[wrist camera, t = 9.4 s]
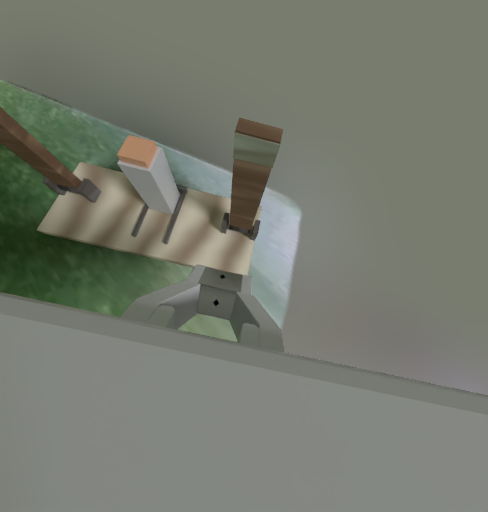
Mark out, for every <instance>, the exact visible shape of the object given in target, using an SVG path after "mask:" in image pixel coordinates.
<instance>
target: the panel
mask: <svg viewBox="0 0 488 512" xmlns="http://www.w3.org/2000/svg"><path fill="white" fill-rule="evenodd" d="M73 174H74V175H75V176H76V177H78V178H79V179H80V180H81V181H82V182H81V184H80V186H79V187H78V189H77V191H78V192H79V193H80V194H77V193H73V192H68V191H64V190H61V189H59V187H58V185H57V184H55V183H53V182H52V181H51V180H49V179H48V178H47V177H45V179H44V180H43V182H42V183H44V184H45V185H47V186H48V187H49V188H51V189H52V190H54V191H55V192H57V193H58V194H59V196H58V197H57V199H56V201H55V202H54V204H53V205H52V207H51V208H50V210H49V211H48V213H47V215H46V216H45V218H44V219H43V221H42V222H41V224H40V225H39V227H38V229H37V230H38V231H40V232H42V233H45V234H48V235H52V236H56V237H61V238H65V239H70V240H74V241H78V242H83V243H87V244H92V245H96V246H101V247H105V248H109V249H114V250H118V251H123V252H127V253H132V254H136V255H140V256H145V257H149V258H154V259H158V260H163V261H167V262H171V263H176V264H180V265H185V266H189V267H193V268H195V266H196V265H197V264H199V265H203V266H206V267H211V268H215V269H220V270H224V271H227V272H232V273H237V274H242V275H247V276H248V271H249V266H250V261H251V256H252V251H253V246H254V241H255V239H256V237H257V234H258V230H259V225H260V221H259V217H260V212H261V207H262V206H259V207H258V210H257V213H256V216H255V219H254V222H253V225H252V228H251V231H250V234H246V233H242V232H238V231H233V230H229V222H230V208H231V199H229V198H225V197H221V196H217V195H213V194H209V193H205V192H201V191H197V190H192V189H188V188H186V187H183V186H179V185H176V186H177V189H178V191H179V194H180V198H179V200H178V203H177V205H176V208H175V211H174V213H173V215H172V214H168V213H164V212H160V211H155V210H151V209H150V208H149V207H148V206H147V204H146V203H145V201H144V200H143V199H142V197H141V196H140V195H139V193H138V192H137V190H136V189H135V188H134V186H133V185H132V184H131V182H130V181H129V179H128V178H127V177H126V175H125V174H124V173H123V172H119V171H115V170H111V169H107V168H103V167H99V166H95V165H90V164H86V163H82V162H80V163H79V165H78V166H77V168H76V169H75V171H74V173H73Z"/></svg>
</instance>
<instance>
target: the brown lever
mask: <svg viewBox="0 0 488 512" xmlns="http://www.w3.org/2000/svg"><path fill="white" fill-rule="evenodd" d="M0 143H2V144H3V145H4V146H6V147H7V148H8V149H10V150H11V151H12V152H14V153H15V154H16V155H18V156H19V157H20V158H22V159H23V160H24V161H26V162H27V163H28V164H30V165H31V166H32V167H34V168H35V169H36V170H37V171H39V172H40V173H41V174H43V175H44V176H45V177H47V178H48V179H49V180H51V181H52V182H53V183H55V184H57V185H58V187H59V189H61V190H64V191H68V192H73V193H77V194H80V193H79V192H78V191H77V189H78V187H79V186H80V184H81V182H82V181H81V180H80V179H79V178H78V177H76V176H75V175H74V174H73V173H72V172H71V171H70V170H69V169H68V168H67V167H65V166H64V165H63V164H62V163H61V162H60V161H59V160H58V159H57V158H56V157H54V156H53V155H52V154H51V153H50V152H49V151H48V150H47V149H46V148H45V147H43V146H42V145H41V144H40V143H39V142H38V141H37V140H36V139H35V138H34V137H33V136H31V135H30V134H29V133H28V132H27V131H26V130H25V129H24V128H23V127H22V126H20V125H19V124H18V123H17V122H16V121H15V120H14V119H13V118H12V117H11V116H9V115H8V114H7V113H6V112H5V111H4V110H3V109H2V108H1V107H0Z"/></svg>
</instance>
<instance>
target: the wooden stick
mask: <svg viewBox="0 0 488 512" xmlns="http://www.w3.org/2000/svg"><path fill="white" fill-rule="evenodd" d="M282 133H283V129H280V128H276V127H272V126H269V125H265V124H261V123H257V122H254V121H250V120H246V119H243V118H239V121H238V124H237V127H236V130H235V138H234V153H233V154H234V155H233V158H234V163H233V178H232V193H231V208H230V222H229V230H233V231H238V232H242V233H246V234H250V231H251V228H252V225H253V222H254V219H255V216H256V213H257V210H258V207H259V204H260V201H261V198H262V195H263V192H264V189H265V186H266V183H267V180H268V177H269V175H270V172H271V168H272V167H273V165H274V162H275V158H276V156H277V153H278V150H279V147H280V144H281V138H282Z"/></svg>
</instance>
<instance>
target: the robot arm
mask: <svg viewBox="0 0 488 512" xmlns="http://www.w3.org/2000/svg"><path fill="white" fill-rule="evenodd" d="M251 291H252V276H247V275H242V274H237V273H232V272H227V271H224V270H220V269H215V268H211V267H206V266H203V265H199V264H197V265H196V266H195V268H194V269H193V271H192V272H191V274H190V276H189V277H188V279H187V280H186V281H185V280H183V281H180V282H177V283H175V284H172V285H170V286H167V287H165V288H162V289H160V290H157V291H155V292H152V293H149V294H147V295H144V296H142V297H139V298H137V299H136V300H135V301H134V302H133V303H132V304H131V305H130V306H129V307H128V309H127V310H126V311H125V312H124V313H123V314H122V315H121V316H120V317H115V316H111V315H106V314H101V313H96V312H92V311H87V310H82V309H78V308H73V307H68V306H63V305H59V304H54V303H49V302H45V301H40V300H35V299H31V298H26V297H21V296H16V295H12V294H7V293H2V292H0V512H488V395H484V394H479V393H474V392H469V391H465V390H460V389H455V388H450V387H446V386H441V385H436V384H431V383H426V382H422V381H417V380H413V379H408V378H403V377H398V376H394V375H389V374H384V373H379V372H375V371H370V370H365V369H361V368H356V367H351V366H346V365H342V364H337V363H332V362H328V361H322V360H318V359H313V358H308V357H304V356H299V355H294V354H290V353H285V352H284V347H283V340H282V333H281V329H280V328H279V327H278V326H277V324H276V323H275V322H274V320H273V319H272V318H271V317H270V315H269V314H268V313H267V312H266V310H265V309H264V308H263V307H262V305H261V304H260V303H259V302H258V300H257V299H256V298H255V297H254V296H252V295H251ZM197 313H198V314H203V315H208V316H214V317H218V318H222V319H226V320H230V323H231V326H232V328H233V330H234V333H235V335H236V338H237V340H238V341H237V342H234V341H229V340H224V339H219V338H215V337H210V336H205V335H200V334H196V333H191V332H186V331H181V330H177V329H178V328H179V327H181V326H182V325H183V324H184V323H186V322H187V321H188V320H190V319H191V318H192V317H194V316H195V315H196V314H197Z"/></svg>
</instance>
